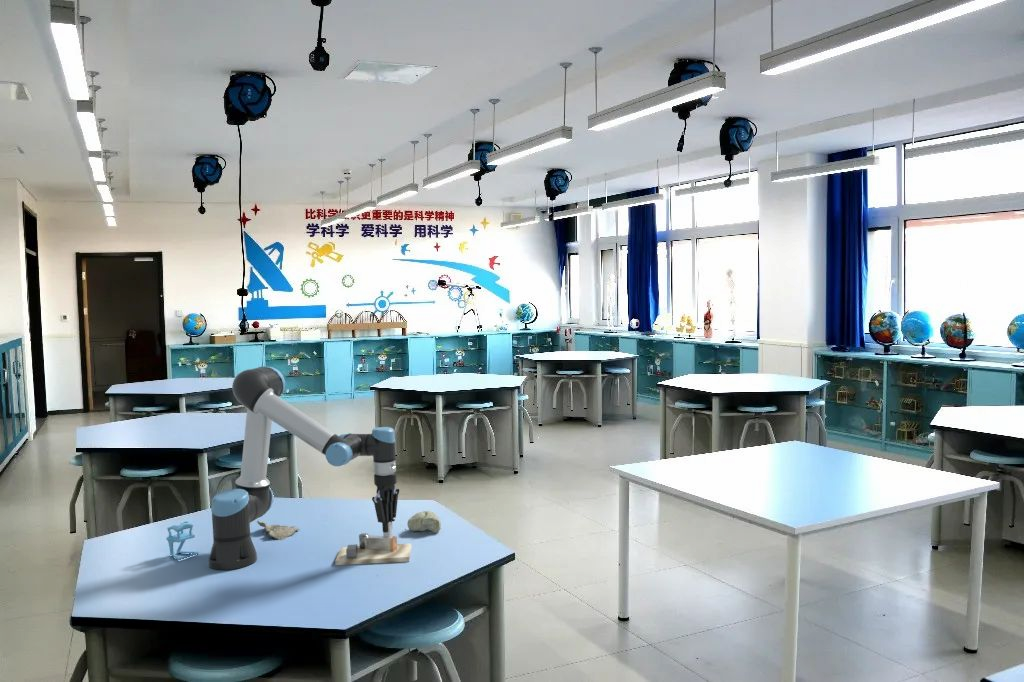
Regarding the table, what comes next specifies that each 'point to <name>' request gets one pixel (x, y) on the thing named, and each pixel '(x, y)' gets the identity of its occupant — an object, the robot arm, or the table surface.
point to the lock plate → (375, 555)
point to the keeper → (351, 551)
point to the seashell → (424, 522)
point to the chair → (180, 538)
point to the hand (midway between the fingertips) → (387, 540)
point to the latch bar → (377, 542)
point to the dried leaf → (278, 530)
